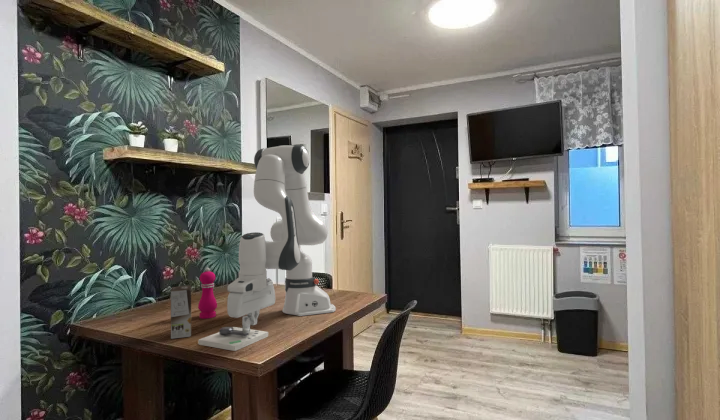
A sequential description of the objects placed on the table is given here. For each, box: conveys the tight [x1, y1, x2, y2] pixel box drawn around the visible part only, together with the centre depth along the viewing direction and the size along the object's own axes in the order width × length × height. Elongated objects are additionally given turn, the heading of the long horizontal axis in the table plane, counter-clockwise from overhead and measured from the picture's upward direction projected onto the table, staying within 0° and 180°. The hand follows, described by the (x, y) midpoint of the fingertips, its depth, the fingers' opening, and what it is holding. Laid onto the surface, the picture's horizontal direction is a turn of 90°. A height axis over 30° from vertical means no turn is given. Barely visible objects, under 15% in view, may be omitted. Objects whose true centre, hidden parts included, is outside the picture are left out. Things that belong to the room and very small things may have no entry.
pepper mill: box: [197, 267, 218, 320], centre depth 158 cm, size 7×7×20 cm
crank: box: [218, 315, 251, 336], centre depth 126 cm, size 11×4×6 cm, turn 68°
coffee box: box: [170, 285, 192, 340], centre depth 134 cm, size 9×6×16 cm
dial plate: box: [197, 326, 269, 352], centre depth 126 cm, size 16×15×2 cm
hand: (253, 324), depth 127 cm, fingers closed
